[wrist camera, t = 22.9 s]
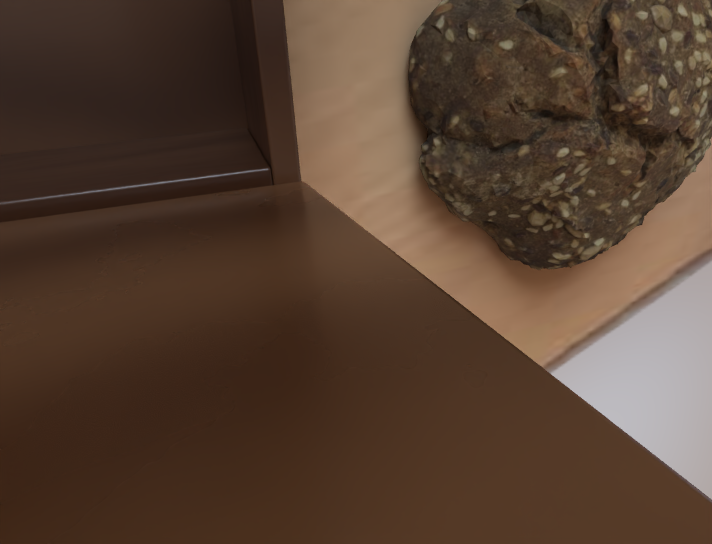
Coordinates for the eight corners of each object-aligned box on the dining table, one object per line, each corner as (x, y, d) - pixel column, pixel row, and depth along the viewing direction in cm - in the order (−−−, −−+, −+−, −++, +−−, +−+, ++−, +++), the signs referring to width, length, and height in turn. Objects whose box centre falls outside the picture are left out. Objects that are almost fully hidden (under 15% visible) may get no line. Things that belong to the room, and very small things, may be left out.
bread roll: (734, 52, 22) (869, 61, 17) (550, 284, 24) (628, 342, 20) (553, -200, 16) (694, -281, 11) (337, 148, 18) (383, 188, 14)
